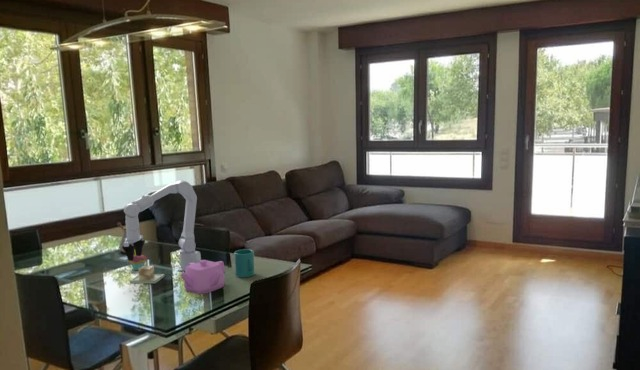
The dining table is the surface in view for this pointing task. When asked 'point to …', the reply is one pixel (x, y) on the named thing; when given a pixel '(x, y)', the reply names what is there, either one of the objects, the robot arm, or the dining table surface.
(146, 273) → the maple cube
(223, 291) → the dining table surface
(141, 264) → the cupcake
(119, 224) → the coffee pot
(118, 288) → the dining table surface
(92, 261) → the dining table surface
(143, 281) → the grey green picture frame
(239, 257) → the cup
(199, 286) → the pink lidded box
